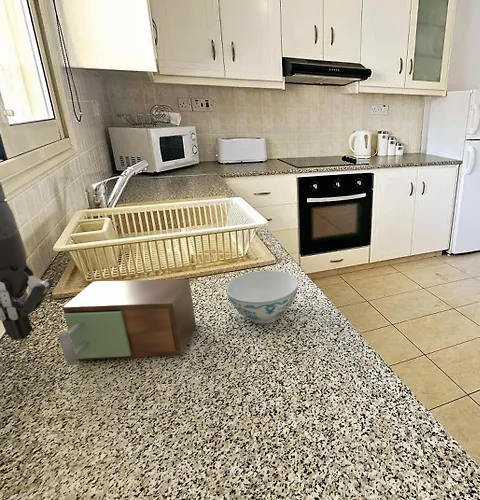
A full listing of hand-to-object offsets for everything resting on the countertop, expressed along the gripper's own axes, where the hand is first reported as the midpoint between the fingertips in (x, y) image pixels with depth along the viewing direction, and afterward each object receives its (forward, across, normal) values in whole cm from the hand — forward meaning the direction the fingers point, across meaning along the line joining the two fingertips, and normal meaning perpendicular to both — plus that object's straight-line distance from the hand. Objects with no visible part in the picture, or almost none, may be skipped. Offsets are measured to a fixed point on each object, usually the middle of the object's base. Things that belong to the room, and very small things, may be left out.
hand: (21, 336), depth 59 cm
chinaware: (+9, -36, -18) cm, 41 cm away
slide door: (+8, -9, -2) cm, 12 cm away
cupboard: (+9, -13, -10) cm, 18 cm away
